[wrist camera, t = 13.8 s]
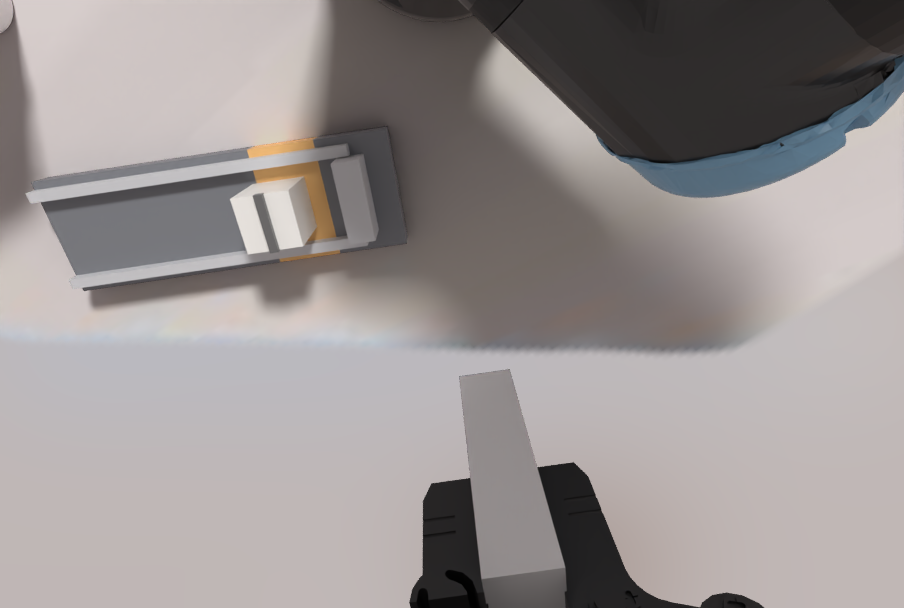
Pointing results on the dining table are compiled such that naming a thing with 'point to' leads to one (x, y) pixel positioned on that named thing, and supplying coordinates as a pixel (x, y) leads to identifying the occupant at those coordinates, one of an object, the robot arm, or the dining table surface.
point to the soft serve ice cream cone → (5, 14)
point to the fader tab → (274, 215)
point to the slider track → (219, 208)
